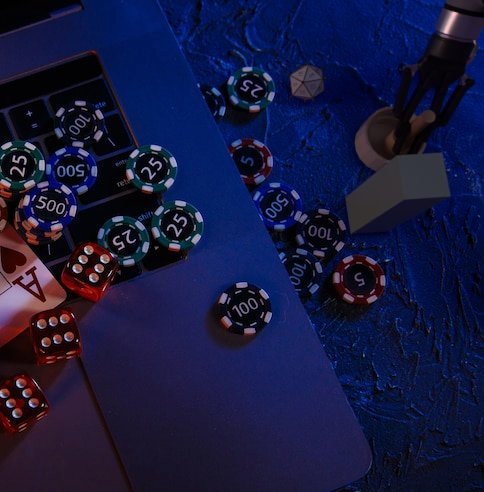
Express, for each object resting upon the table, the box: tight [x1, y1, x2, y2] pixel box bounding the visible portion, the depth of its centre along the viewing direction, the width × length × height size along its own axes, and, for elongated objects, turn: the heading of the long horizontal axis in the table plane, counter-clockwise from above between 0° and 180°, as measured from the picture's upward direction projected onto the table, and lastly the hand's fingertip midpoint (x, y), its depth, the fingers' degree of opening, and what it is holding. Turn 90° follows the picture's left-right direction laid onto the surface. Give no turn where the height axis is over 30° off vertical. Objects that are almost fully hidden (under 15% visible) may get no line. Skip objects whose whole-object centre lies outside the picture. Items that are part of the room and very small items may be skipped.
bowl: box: [354, 105, 427, 172], centre depth 131 cm, size 13×13×6 cm
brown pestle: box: [382, 109, 435, 157], centre depth 123 cm, size 5×5×15 cm
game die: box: [286, 60, 328, 104], centre depth 133 cm, size 9×8×10 cm
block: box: [345, 152, 452, 235], centre depth 118 cm, size 8×8×25 cm
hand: (403, 154), depth 125 cm, fingers closed on brown pestle, 3 cm apart
